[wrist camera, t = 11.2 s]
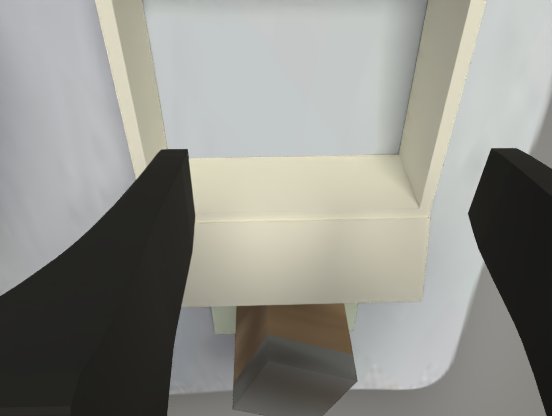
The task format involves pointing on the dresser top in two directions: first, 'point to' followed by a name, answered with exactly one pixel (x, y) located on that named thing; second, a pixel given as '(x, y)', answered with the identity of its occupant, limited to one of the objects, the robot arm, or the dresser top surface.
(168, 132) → the dresser top surface
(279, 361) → the walnut block
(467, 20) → the carton
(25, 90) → the dresser top surface
